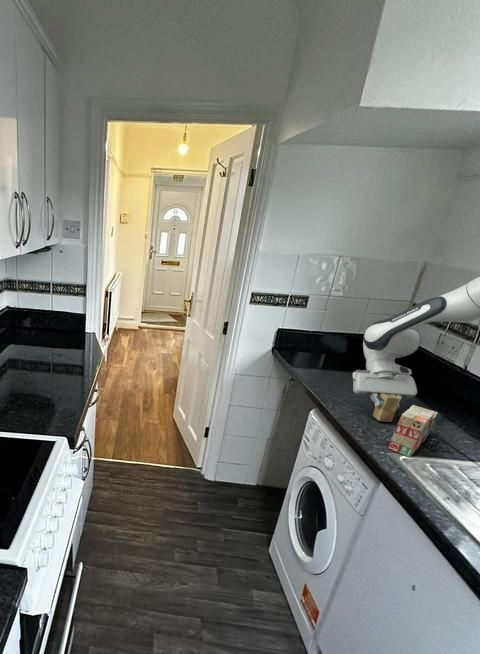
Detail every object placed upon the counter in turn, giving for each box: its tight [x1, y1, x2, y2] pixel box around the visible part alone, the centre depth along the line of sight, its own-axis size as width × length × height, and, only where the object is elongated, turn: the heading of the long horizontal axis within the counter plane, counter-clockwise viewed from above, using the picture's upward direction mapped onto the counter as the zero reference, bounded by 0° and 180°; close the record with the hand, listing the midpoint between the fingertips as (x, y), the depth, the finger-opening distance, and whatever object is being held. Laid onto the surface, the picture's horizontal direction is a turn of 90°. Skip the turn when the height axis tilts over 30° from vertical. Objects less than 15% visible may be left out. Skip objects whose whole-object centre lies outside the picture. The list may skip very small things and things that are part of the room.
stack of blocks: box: [386, 404, 439, 458], centre depth 132 cm, size 21×6×12 cm, turn 131°
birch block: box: [371, 393, 401, 423], centre depth 146 cm, size 4×4×9 cm
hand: (387, 407), depth 145 cm, fingers closed on birch block, 4 cm apart
